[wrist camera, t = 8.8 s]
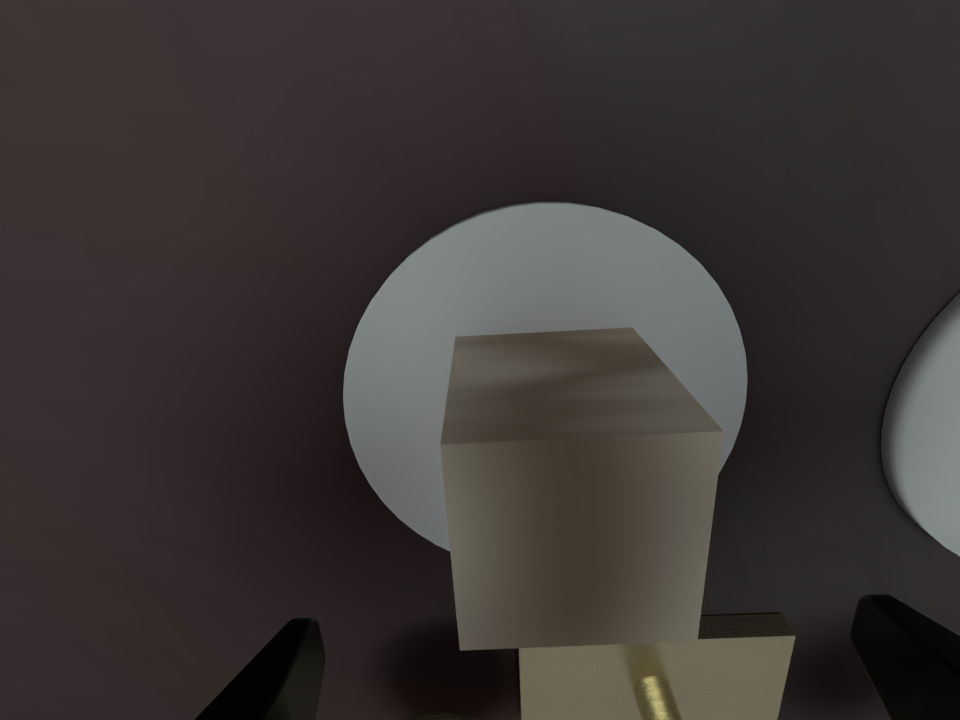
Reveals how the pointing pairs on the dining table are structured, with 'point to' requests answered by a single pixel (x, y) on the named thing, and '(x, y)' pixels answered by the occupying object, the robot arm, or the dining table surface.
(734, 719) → the balance
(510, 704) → the dining table surface
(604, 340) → the block
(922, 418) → the shallow white plate
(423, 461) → the pale round disc
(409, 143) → the dining table surface
